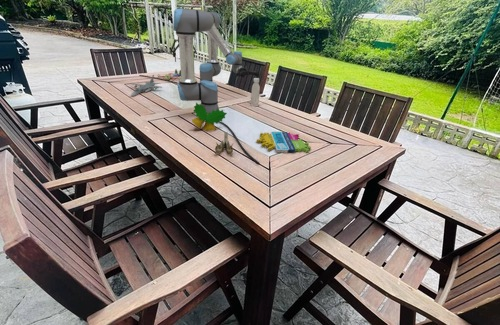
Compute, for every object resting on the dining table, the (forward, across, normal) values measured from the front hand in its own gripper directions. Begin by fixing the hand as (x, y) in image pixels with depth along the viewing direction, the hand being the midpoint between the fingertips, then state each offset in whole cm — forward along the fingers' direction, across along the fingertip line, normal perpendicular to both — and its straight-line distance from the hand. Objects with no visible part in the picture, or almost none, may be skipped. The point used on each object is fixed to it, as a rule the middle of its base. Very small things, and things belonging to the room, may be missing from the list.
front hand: (184, 61), depth 211 cm
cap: (+7, -53, +29) cm, 61 cm away
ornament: (+28, -10, +76) cm, 81 cm away
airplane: (+28, +34, -18) cm, 47 cm away
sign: (+28, -48, +102) cm, 117 cm away
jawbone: (+28, -13, +108) cm, 112 cm away
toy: (+28, +10, -72) cm, 78 cm away
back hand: (+8, -53, +14) cm, 56 cm away
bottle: (+28, -53, +29) cm, 67 cm away
